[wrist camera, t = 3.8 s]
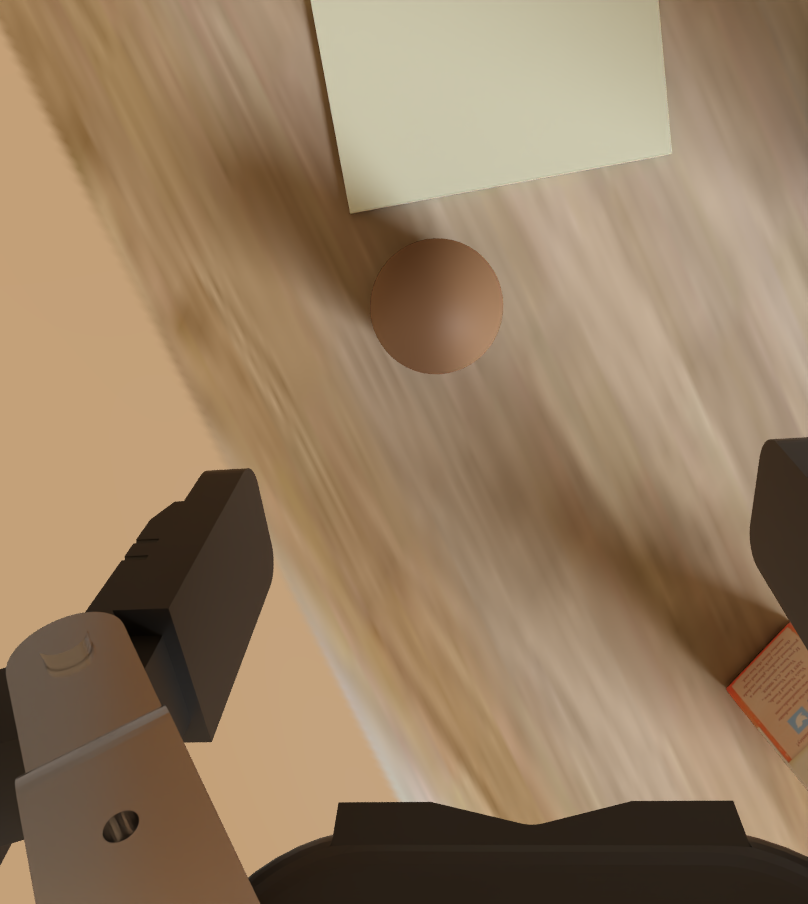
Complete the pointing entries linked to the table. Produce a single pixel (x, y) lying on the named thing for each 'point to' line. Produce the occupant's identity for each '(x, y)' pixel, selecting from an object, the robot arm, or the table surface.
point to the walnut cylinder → (436, 306)
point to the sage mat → (488, 92)
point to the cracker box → (779, 698)
